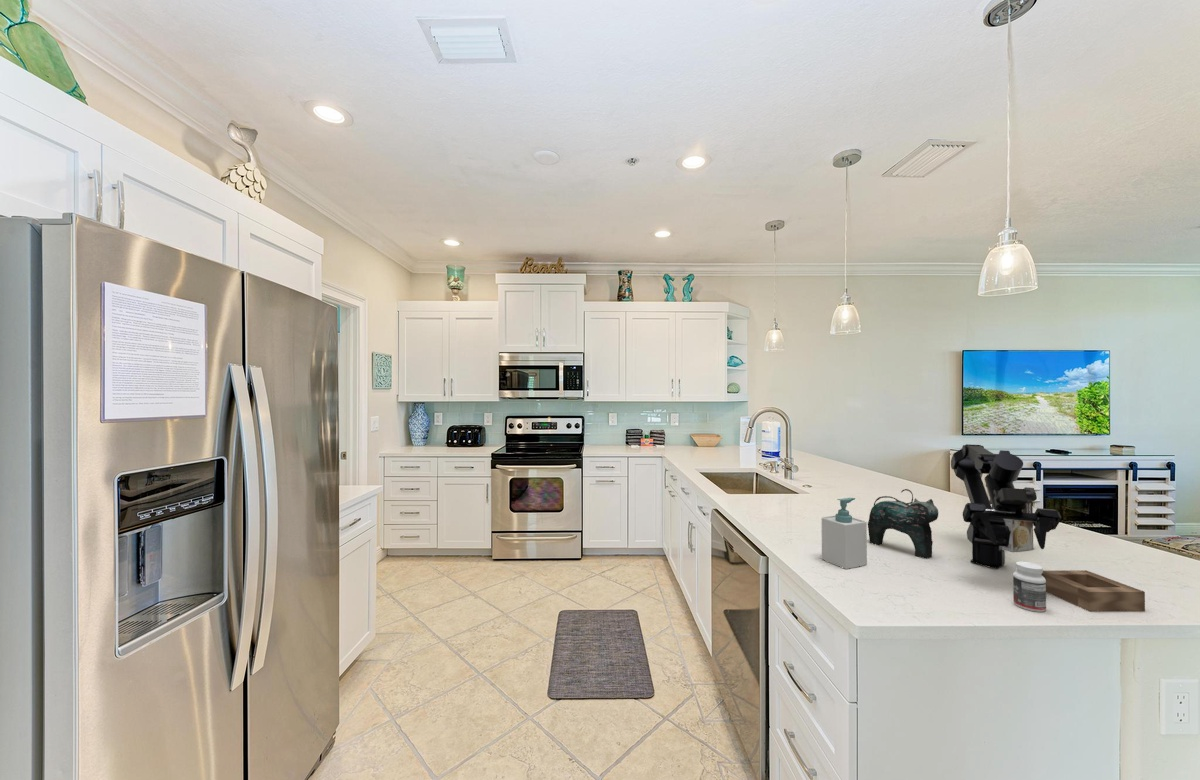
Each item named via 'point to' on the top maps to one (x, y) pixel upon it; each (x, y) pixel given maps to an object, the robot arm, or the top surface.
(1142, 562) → the top surface
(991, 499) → the robot arm
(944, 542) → the top surface
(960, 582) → the top surface
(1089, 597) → the walnut socket
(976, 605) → the top surface
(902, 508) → the ceramic cat
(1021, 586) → the pill bottle
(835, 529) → the soap bottle
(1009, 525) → the coffee box
